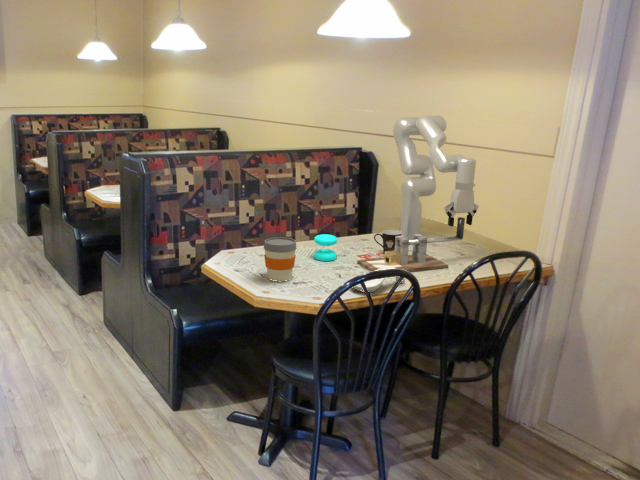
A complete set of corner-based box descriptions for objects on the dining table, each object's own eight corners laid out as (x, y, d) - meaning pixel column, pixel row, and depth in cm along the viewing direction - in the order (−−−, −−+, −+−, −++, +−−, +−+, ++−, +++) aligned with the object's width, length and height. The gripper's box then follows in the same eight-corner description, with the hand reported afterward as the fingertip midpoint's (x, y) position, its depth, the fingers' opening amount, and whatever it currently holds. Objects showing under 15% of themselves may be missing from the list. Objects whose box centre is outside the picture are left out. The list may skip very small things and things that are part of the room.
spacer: (384, 261, 249) (384, 251, 248) (394, 260, 251) (394, 250, 250) (390, 265, 244) (390, 254, 243) (400, 264, 246) (401, 253, 245)
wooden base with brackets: (357, 263, 251) (358, 235, 248) (424, 256, 265) (426, 229, 261) (377, 276, 235) (379, 246, 232) (448, 268, 249) (450, 239, 246)
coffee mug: (403, 254, 268) (405, 232, 265) (392, 257, 261) (394, 235, 259) (383, 248, 275) (384, 228, 273) (371, 252, 269) (373, 230, 266)
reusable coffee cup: (301, 280, 227) (302, 243, 223) (273, 285, 221) (273, 247, 217) (285, 271, 237) (286, 235, 233) (257, 276, 231) (258, 239, 227)
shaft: (397, 244, 248) (399, 221, 246) (460, 239, 261) (462, 217, 258) (401, 246, 246) (403, 223, 243) (464, 240, 258) (466, 218, 256)
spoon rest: (363, 298, 211) (364, 279, 209) (343, 288, 220) (344, 270, 219) (410, 286, 225) (412, 268, 223) (389, 278, 234) (391, 260, 232)
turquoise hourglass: (310, 235, 256) (329, 232, 261) (309, 257, 258) (328, 254, 263) (321, 240, 248) (341, 237, 253) (321, 263, 250) (340, 260, 255)
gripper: (474, 184, 260) (470, 221, 264) (442, 185, 253) (438, 224, 258) (485, 187, 253) (481, 226, 258) (452, 189, 246) (448, 228, 251)
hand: (459, 225), depth 258 cm, fingers open, 9 cm apart
